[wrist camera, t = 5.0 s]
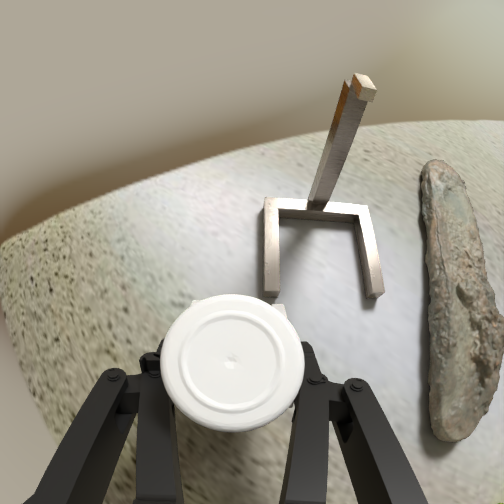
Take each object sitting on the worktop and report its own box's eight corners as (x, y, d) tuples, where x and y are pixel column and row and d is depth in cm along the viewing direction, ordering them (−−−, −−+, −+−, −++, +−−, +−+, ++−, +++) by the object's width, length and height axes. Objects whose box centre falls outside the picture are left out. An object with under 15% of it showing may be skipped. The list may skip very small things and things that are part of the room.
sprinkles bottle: (239, 339, 21) (241, 263, 9) (278, 382, 20) (338, 365, 8) (193, 375, 20) (129, 346, 8) (232, 420, 18) (222, 463, 6)
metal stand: (377, 298, 23) (487, 193, 10) (262, 297, 23) (298, 156, 10) (360, 206, 28) (419, 88, 15) (263, 198, 28) (281, 57, 15)
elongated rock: (454, 188, 34) (401, 169, 35) (469, 164, 30) (414, 141, 31) (477, 437, 16) (405, 445, 17) (512, 432, 11) (439, 447, 12)
